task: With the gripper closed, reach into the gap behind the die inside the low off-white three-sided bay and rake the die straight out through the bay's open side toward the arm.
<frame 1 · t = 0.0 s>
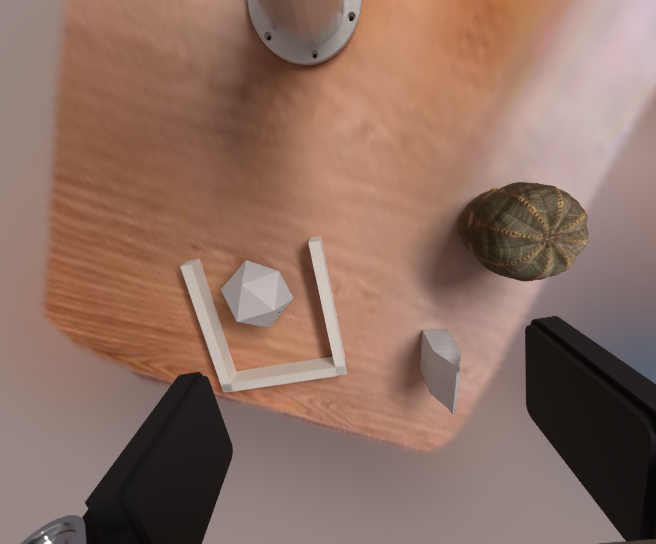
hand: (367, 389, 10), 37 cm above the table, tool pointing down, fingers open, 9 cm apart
bay: (271, 313, 50), on the table
grey faceted angular block: (432, 348, 51), on the table
die: (264, 283, 48), on the table
shell: (495, 221, 45), on the table
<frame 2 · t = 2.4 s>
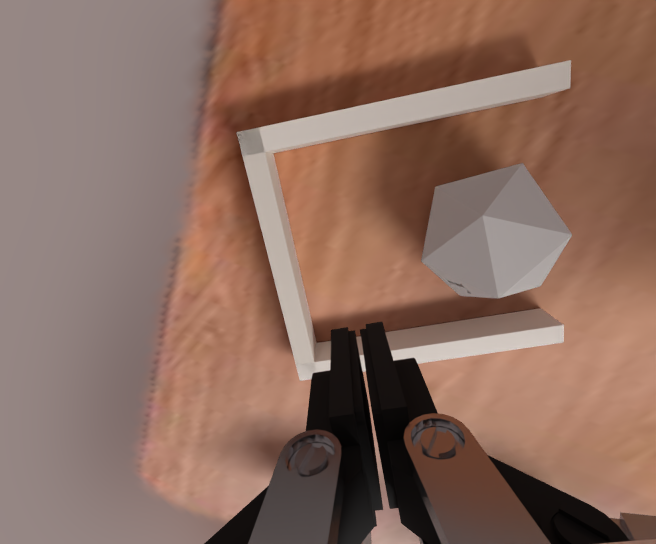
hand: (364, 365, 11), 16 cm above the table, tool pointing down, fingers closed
bay: (405, 237, 26), on the table
die: (465, 225, 26), on the table
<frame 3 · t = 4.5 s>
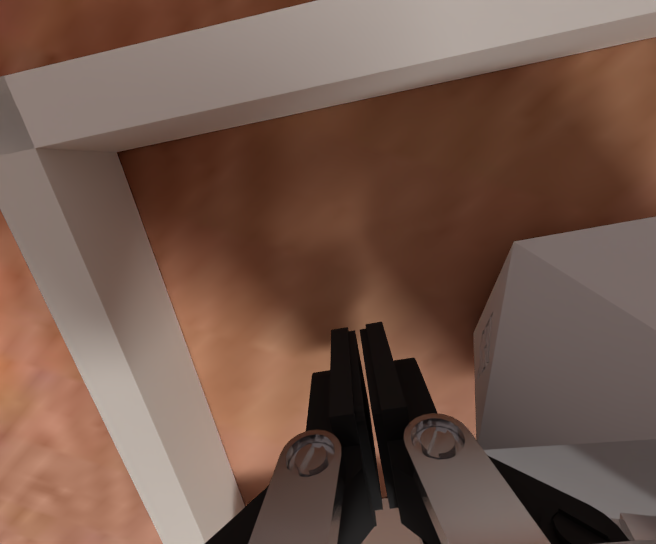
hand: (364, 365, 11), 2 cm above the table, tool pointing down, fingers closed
bay: (420, 332, 12), on the table
die: (552, 308, 12), on the table, touching gripper
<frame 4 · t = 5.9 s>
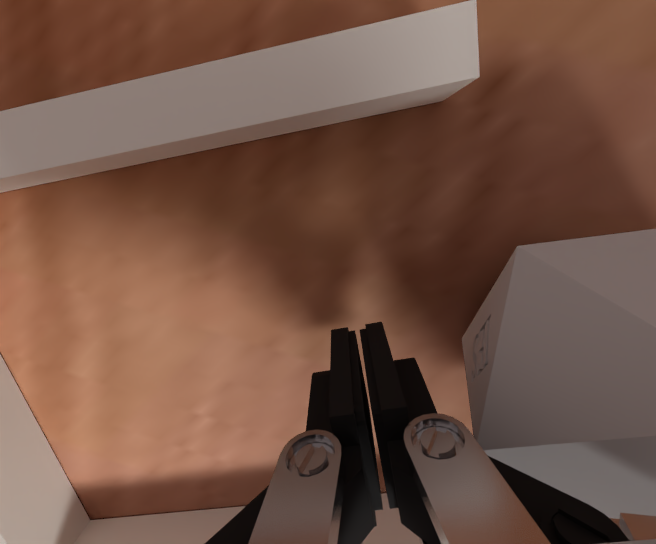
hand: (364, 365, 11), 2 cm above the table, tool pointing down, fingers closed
bay: (206, 363, 14), on the table
die: (535, 318, 13), on the table, touching gripper
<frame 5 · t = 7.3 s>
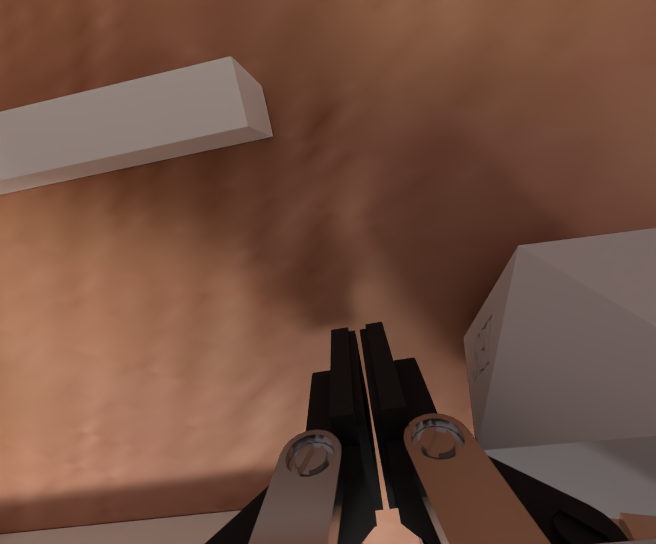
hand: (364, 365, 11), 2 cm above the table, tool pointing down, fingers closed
bay: (85, 384, 14), on the table
die: (537, 317, 12), on the table, touching gripper
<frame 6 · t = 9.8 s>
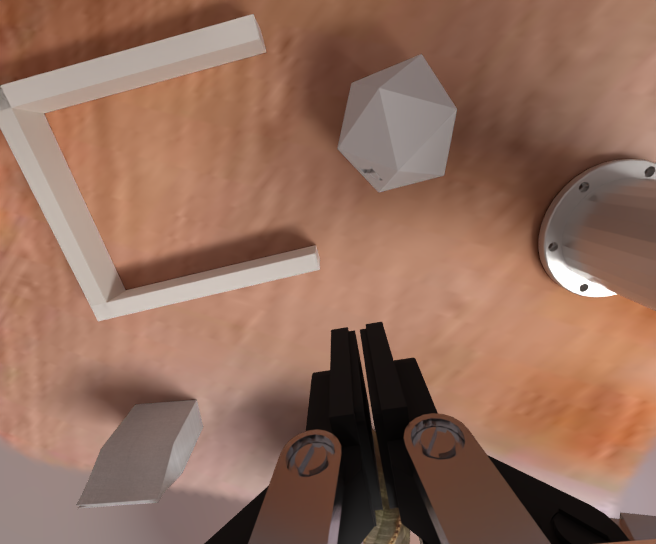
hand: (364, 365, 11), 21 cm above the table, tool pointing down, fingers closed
bay: (180, 185, 29), on the table
grey faceted angular block: (170, 414, 37), on the table
die: (387, 134, 28), on the table
shell: (347, 450, 39), on the table
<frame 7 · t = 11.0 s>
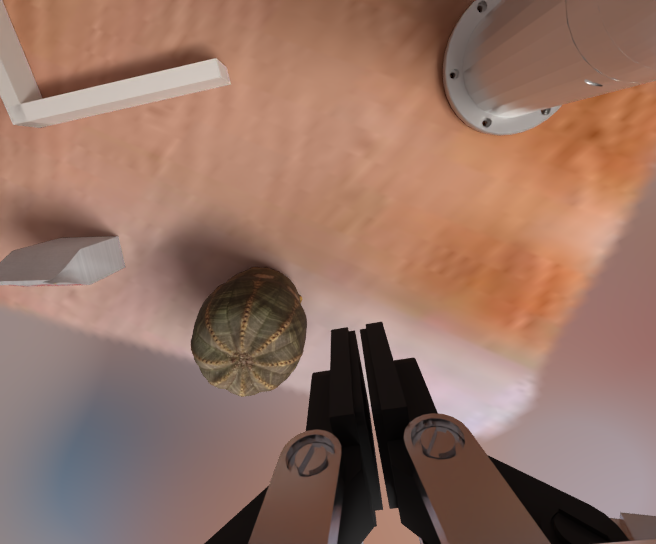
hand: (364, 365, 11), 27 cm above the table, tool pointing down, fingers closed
grey faceted angular block: (94, 252, 39), on the table
shell: (265, 304, 40), on the table
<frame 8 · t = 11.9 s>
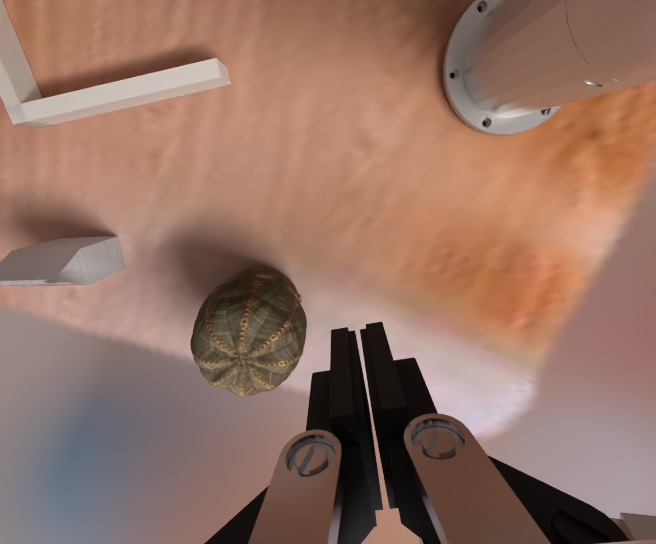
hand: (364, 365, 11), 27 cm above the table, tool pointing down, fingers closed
grey faceted angular block: (94, 252, 39), on the table
shell: (265, 304, 40), on the table
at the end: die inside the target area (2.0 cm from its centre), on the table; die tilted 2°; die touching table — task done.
